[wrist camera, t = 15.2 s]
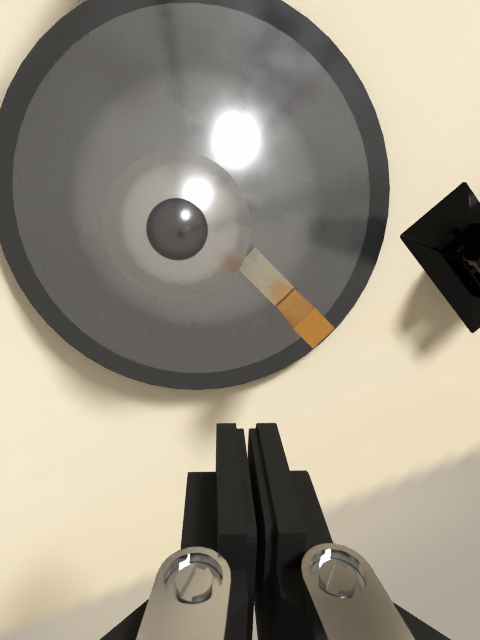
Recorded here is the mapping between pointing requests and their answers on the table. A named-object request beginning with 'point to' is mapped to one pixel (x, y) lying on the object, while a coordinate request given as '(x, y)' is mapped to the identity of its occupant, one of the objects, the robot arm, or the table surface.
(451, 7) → the table surface
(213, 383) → the base
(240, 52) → the platter
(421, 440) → the table surface
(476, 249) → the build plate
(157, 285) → the cover
